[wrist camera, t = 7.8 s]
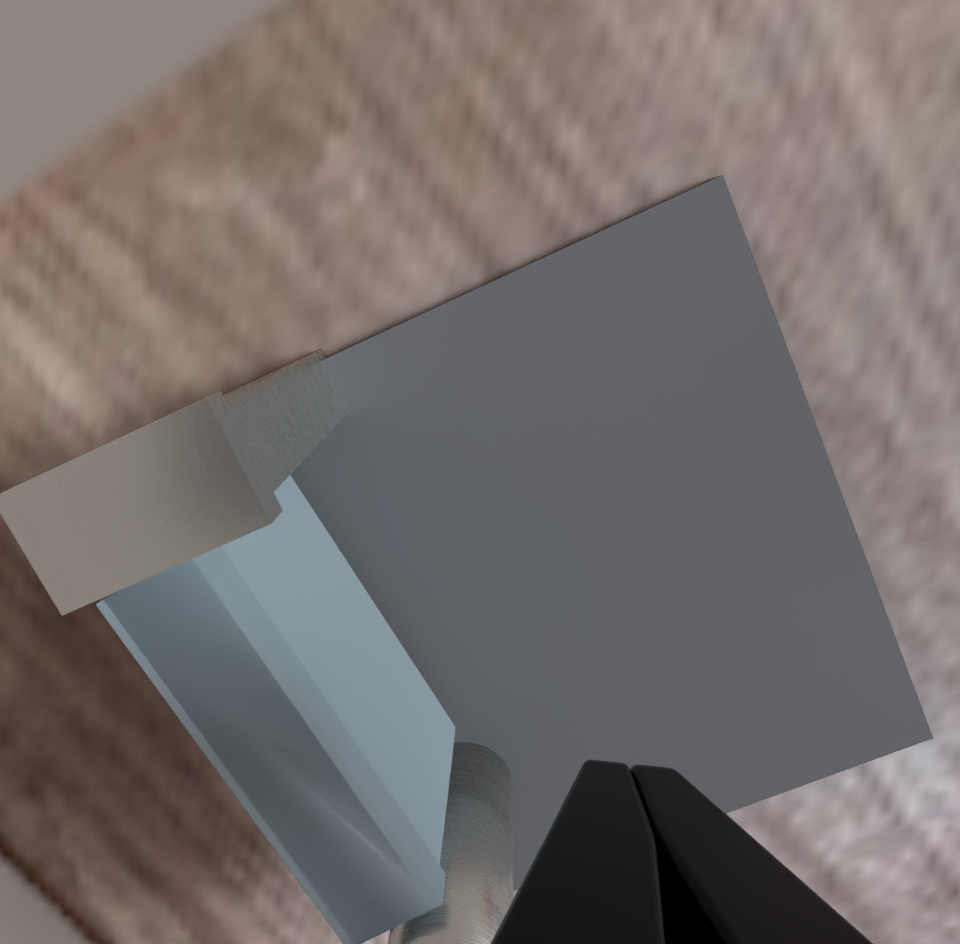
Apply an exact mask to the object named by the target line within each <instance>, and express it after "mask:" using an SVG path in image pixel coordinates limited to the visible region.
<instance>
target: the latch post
mask: <svg viewBox="0 0 960 944" xmlns="http://www.w3.org/2000/svg"><path fill="white" fill-rule="evenodd" d="M325 358H326V356H325V354H324V352H323V350H322V349H320V350H318V351H316V352H314V353H312V354H310V355H307V356H305V357H303V358H301V359H299V360H297V361H295V362H292V363H290V364H288V365H286V366H284V367H282V368H279V369H277V370H275V371H273V372H271V373H269V374H267V375H264V376H262V377H260V378H258V379H256V380H254V381H251V382H249V383H247V384H245V385H243V386H241V387H239V388H236V389H234V390H232V391H230V392H228V393H226V394H224V395H222V393H221V391H218V392H216V393H213V394H211V395H209V396H207V397H205V398H203V399H201V400H198V401H196V402H194V403H192V404H190V405H188V406H186V407H183V408H181V409H179V410H177V411H175V412H173V413H170V414H168V415H166V416H164V417H162V418H160V419H158V420H155V421H153V422H151V423H149V424H147V425H145V426H143V427H140V428H138V429H136V430H134V431H132V432H130V433H127V434H125V435H123V436H121V437H119V438H117V439H115V440H112V441H110V442H108V443H106V444H104V445H102V446H100V447H97V448H95V449H93V450H91V451H89V452H87V453H85V454H82V455H80V456H78V457H76V458H74V459H72V460H69V461H67V462H65V463H63V464H61V465H59V466H57V467H54V468H52V469H50V470H48V471H46V472H44V473H42V474H39V475H37V476H35V477H33V478H31V479H29V480H27V481H24V482H22V483H20V484H18V485H16V486H14V487H12V488H10V489H8V490H6V491H4V492H2V493H0V514H1V516H2V517H3V519H4V521H5V522H6V524H7V526H8V527H9V529H10V531H11V532H12V534H13V535H14V537H15V539H16V540H17V542H18V544H19V545H20V547H21V549H22V550H23V552H24V554H25V555H26V557H27V559H28V560H29V562H30V564H31V565H32V567H33V569H34V570H35V572H36V574H37V575H38V577H39V579H40V580H41V582H42V584H43V585H44V587H45V589H46V590H47V592H48V594H49V595H50V597H51V599H52V600H53V602H54V604H55V605H56V607H57V609H58V610H59V612H60V614H61V615H62V616H63V615H65V614H67V613H70V612H72V611H74V610H76V609H79V608H81V607H83V606H85V605H88V604H90V603H92V602H95V601H97V600H99V599H101V598H104V597H106V596H108V595H110V594H113V593H115V592H117V591H120V590H122V589H124V588H126V587H129V586H131V585H133V584H136V583H138V582H140V581H142V580H145V579H147V578H149V577H151V576H154V575H156V574H158V573H161V572H163V571H165V570H167V569H170V568H172V567H174V566H177V565H179V564H181V563H183V562H186V561H188V560H190V559H192V558H195V557H197V556H199V555H202V554H204V553H206V552H208V551H211V550H213V549H215V548H218V547H220V546H222V545H224V544H227V543H229V542H231V541H233V540H236V539H238V538H240V537H243V536H245V535H247V534H249V533H252V532H254V531H256V530H259V529H261V528H263V527H265V526H268V525H270V524H272V523H273V522H274V520H275V519H276V518H277V517H278V516H279V515H280V513H281V512H282V511H283V509H282V507H281V505H280V503H279V502H278V500H277V498H276V496H275V494H274V491H275V490H276V489H277V488H278V487H279V486H280V485H281V484H282V483H283V482H284V481H285V480H286V479H287V478H288V476H289V475H290V474H291V473H292V472H293V471H294V470H295V469H296V468H297V467H298V466H299V465H300V464H301V463H302V462H303V461H304V460H305V459H306V457H307V456H308V455H309V454H310V453H311V452H312V451H313V450H314V449H315V448H316V447H317V446H318V445H319V444H320V443H321V442H322V441H323V439H324V438H325V437H326V436H327V435H328V434H329V433H330V432H331V431H332V430H333V429H334V428H335V427H336V426H337V425H338V424H339V423H340V422H341V420H342V419H343V418H344V417H345V416H346V415H347V412H346V410H345V408H344V406H343V403H342V401H341V399H340V397H339V395H338V393H337V391H336V389H335V387H334V385H333V383H332V381H331V379H330V377H329V375H328V373H327V371H326V369H325V367H324V365H323V363H322V360H323V359H325Z"/></svg>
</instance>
